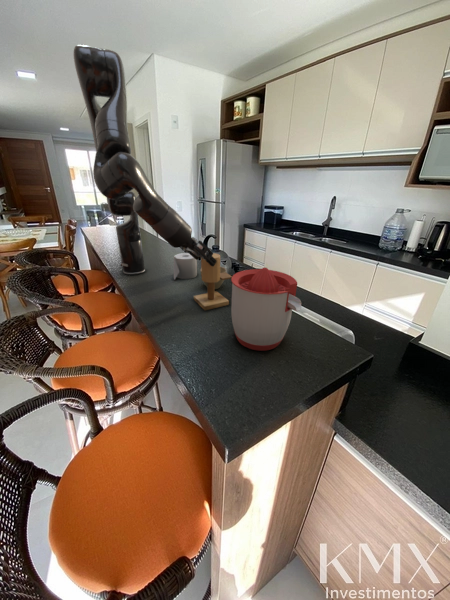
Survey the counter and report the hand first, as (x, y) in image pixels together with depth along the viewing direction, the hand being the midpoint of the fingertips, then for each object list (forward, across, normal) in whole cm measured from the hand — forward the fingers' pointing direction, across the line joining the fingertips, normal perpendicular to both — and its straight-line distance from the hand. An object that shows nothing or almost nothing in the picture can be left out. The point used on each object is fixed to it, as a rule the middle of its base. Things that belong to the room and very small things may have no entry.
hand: (206, 260), depth 78 cm
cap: (+7, 0, +2) cm, 8 cm away
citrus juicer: (+10, -26, +12) cm, 30 cm away
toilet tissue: (+16, +27, +5) cm, 32 cm away
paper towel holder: (+12, 0, +10) cm, 15 cm away
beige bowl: (+18, +10, +3) cm, 21 cm away
